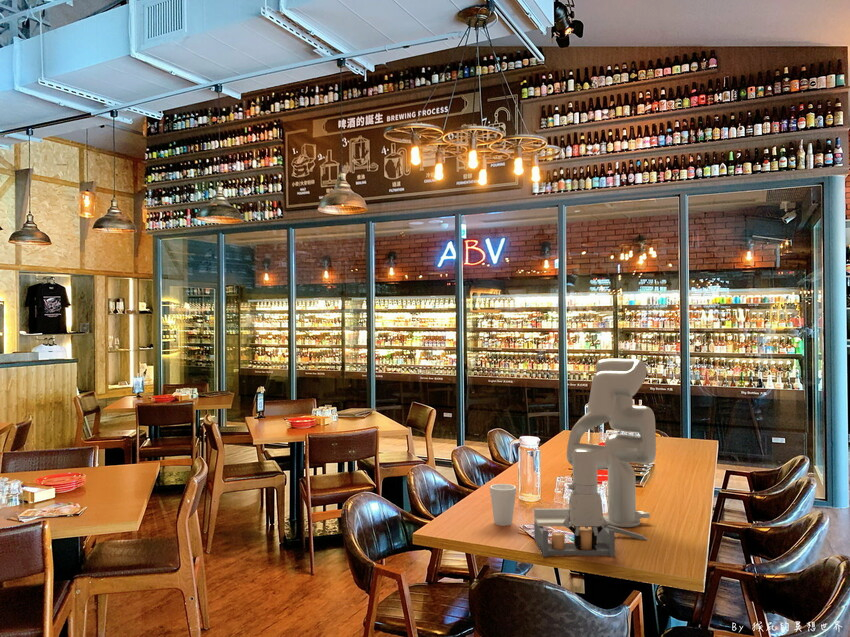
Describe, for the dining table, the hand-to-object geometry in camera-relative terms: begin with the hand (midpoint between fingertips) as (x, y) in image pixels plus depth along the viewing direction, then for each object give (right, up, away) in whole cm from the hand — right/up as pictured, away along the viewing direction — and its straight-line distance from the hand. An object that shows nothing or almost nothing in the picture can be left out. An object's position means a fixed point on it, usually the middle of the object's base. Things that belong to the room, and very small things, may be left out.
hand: (585, 546), depth 197 cm
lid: (-3, +5, +8) cm, 10 cm away
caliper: (+14, -2, +16) cm, 21 cm away
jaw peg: (0, 0, 0) cm, 0 cm away
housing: (-3, -2, +4) cm, 5 cm away
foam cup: (-22, -3, +30) cm, 38 cm away
